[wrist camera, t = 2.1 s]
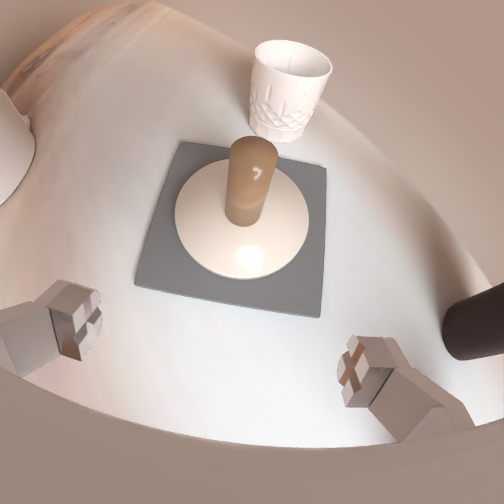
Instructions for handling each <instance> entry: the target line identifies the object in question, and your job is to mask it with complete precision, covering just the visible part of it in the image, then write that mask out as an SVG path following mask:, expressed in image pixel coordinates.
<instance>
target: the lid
mask: <svg viewBox="0 0 504 504" xmlns="http://www.w3.org/2000/svg"><path fill="white" fill-rule="evenodd" d="M277 160H278V152H277V149H276V148H275V146H274V145H273V144H272V143H271V142H269V141H268V140H266V139H264V138H261V137H257V136H246V137H242V138H240V139H238V140H236V141H235V142H234V143H233V144H232V146H231V148H230V156H229V159H225V160H220V161H217V162H213V163H211V164H209V165H207V166H205V167H203V168H201V169H200V170H198V171H197V172H196V173H194V174H193V175H192V176H191V177H190V178H189V179H188V180H187V182H186V183H185V184H184V186H183V187H182V189H181V191H180V193H179V195H178V198H177V201H176V205H175V224H176V228H177V232H178V236H179V239H180V241H181V244H182V246H183V247H184V249H185V251H186V252H187V253H188V255H189V256H190V257H191V258H192V259H193V260H194V261H195V262H196V263H197V264H198V265H199V266H201V267H202V268H204V269H205V270H207V271H209V272H210V273H212V274H215V275H217V276H220V277H223V278H227V279H232V280H254V279H260V278H263V277H267V276H269V275H272V274H274V273H276V272H277V271H279V270H281V269H282V268H284V267H285V266H286V265H287V264H288V263H290V261H291V260H292V259H293V258H294V257H295V256H296V254H297V253H298V251H299V250H300V248H301V247H302V245H303V243H304V241H305V239H306V235H307V232H308V226H309V214H308V208H307V205H306V201H305V199H304V197H303V195H302V193H301V191H300V190H299V188H298V187H297V185H296V184H295V183H294V182H293V181H292V180H291V179H290V178H289V177H288V176H287V175H286V174H284V173H283V172H282V171H280V170H279V169H277V168H275V167H276V163H277Z"/></svg>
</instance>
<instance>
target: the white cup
mask: <svg viewBox="0 0 504 504" xmlns="http://www.w3.org/2000/svg"><path fill="white" fill-rule="evenodd" d="M332 69H333V67H332V64H331V62H330V60H329V59H328V58H327V57H326V56H325V55H324V54H323V53H321V52H320V51H318V50H316V49H314V48H312V47H310V46H308V45H305V44H302V43H298V42H294V41H288V40H270V41H266V42H263V43H261V44H259V45H257V46H256V48H255V50H254V58H253V68H252V77H251V90H250V112H249V124H250V127H251V128H252V129H253V131H254V132H255V133H256V134H257V135H258V136H260V137H262V138H264V139H266V140H268V141H272V142H277V143H287V142H293V141H294V140H296V139H298V138H300V137H301V135H302V133H303V131H304V129H305V127H306V124H307V122H308V121H309V119H310V118H311V116H312V114H313V112H314V110H315V108H316V105H317V103H318V102H319V100H320V97H321V94H322V92H323V90H324V87H325V85H326V83H327V81H328V79H329V77H330V74H331V72H332Z"/></svg>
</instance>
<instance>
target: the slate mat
mask: <svg viewBox="0 0 504 504" xmlns="http://www.w3.org/2000/svg"><path fill="white" fill-rule="evenodd" d="M229 156H230V148H223V147H217V146H210V145H203V144H196V143H189V142H180V145H179V147H178V150H177V152H176V155H175V157H174V160H173V163H172V165H171V168H170V171H169V173H168V176H167V179H166V182H165V185H164V187H163V190H162V193H161V196H160V199H159V202H158V205H157V208H156V211H155V214H154V217H153V220H152V223H151V226H150V230H149V233H148V236H147V239H146V243H145V246H144V250H143V253H142V257H141V260H140V264H139V267H138V271H137V275H136V279H135V282H134V284H135V285H136V286H139V287H144V288H148V289H153V290H158V291H162V292H167V293H172V294H177V295H182V296H187V297H192V298H197V299H203V300H208V301H213V302H219V303H224V304H230V305H236V306H242V307H248V308H254V309H260V310H266V311H272V312H279V313H286V314H292V315H299V316H307V317H314V318H319V317H320V311H321V299H322V285H323V270H324V251H325V226H326V168H323V167H319V166H314V165H310V164H306V163H302V162H297V161H292V160H288V159H283V158H278V160H277V163H276V167H275V168H277V169H279V170H280V171H282V172H283V173H284V174H286V175H287V176H288V177H289V178H290V179H291V180H292V181H293V182H294V183H295V184H296V185H297V187H298V188H299V190H300V191H301V193H302V195H303V197H304V199H305V201H306V205H307V208H308V214H309V226H308V232H307V235H306V239H305V241H304V243H303V245H302V247H301V248H300V250H299V251H298V253H297V254H296V256H295V257H294V258H293V259H292V260H291V261H290V263H288V264H287V265H286V266H285V267H284V268H282V269H281V270H279V271H277V272H276V273H274V274H272V275H269V276H267V277H263V278H260V279H254V280H232V279H227V278H223V277H220V276H217V275H215V274H212V273H210V272H209V271H207V270H205V269H204V268H202V267H201V266H199V265H198V264H197V263H196V262H195V261H194V260H193V259H192V258H191V257H190V256H189V255H188V253H187V252H186V251H185V249H184V247H183V246H182V244H181V241H180V239H179V236H178V232H177V228H176V224H175V205H176V201H177V198H178V195H179V193H180V191H181V189H182V187H183V186H184V184H185V183H186V182H187V180H188V179H189V178H190V177H191V176H192V175H193V174H194V173H196V172H197V171H198V170H200V169H201V168H203V167H205V166H207V165H209V164H211V163H213V162H217V161H220V160H225V159H229Z"/></svg>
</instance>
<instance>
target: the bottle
mask: <svg viewBox="0 0 504 504" xmlns="http://www.w3.org/2000/svg"><path fill="white" fill-rule="evenodd" d="M443 336H444V342H445V345H446V347H447V350H448V352H449V353H450V354H451V355H452V357H454V358H456V359H457V360H471V359H477V358H483V357H488V356H493V355H498V354H503V353H504V283H502V284H500V285H497V286H495V287H493V288H491V289H488V290H486V291H484V292H481V293H479V294H477V295H474V296H472V297H470V298H467V299H465V300H462V301H460V302H457V303H455V304H454V305H453V306H452V307H451V308H449V310H448V312H447V314H446V316H445V320H444V324H443Z"/></svg>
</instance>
